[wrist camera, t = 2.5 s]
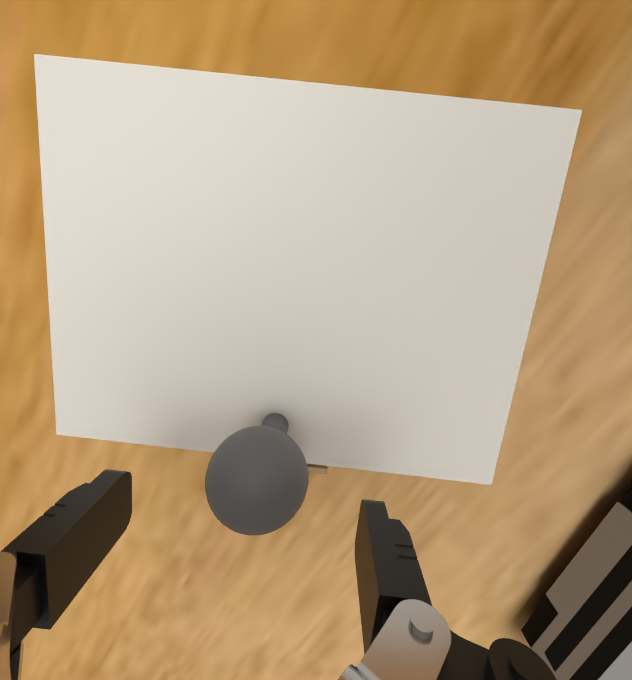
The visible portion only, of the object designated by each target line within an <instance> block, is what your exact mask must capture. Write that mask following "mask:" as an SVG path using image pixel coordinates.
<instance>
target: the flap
mask: <svg viewBox="0 0 632 680" xmlns="http://www.w3.org/2000/svg"><path fill="white" fill-rule="evenodd" d="M34 61H35V78H36V94H37V111H38V128H39V145H40V162H41V179H42V196H43V212H44V229H45V246H46V263H47V280H48V297H49V314H50V330H51V347H52V364H53V381H54V398H55V415H56V432H57V435H66V436H74V437H83V438H92V439H100V440H109V441H118V442H126V443H135V444H143V445H152V446H161V447H169V448H178V449H187V450H195V451H204V452H212V453H214V454H213V455H212V457H211V460H210V462H209V464H208V468H207V472H206V478H205V490H206V496H207V500H208V503H209V506H210V508H211V510H212V512H213V513H214V515H215V516H216V517H217V519H218V520H219V521H220V522H221V523H222V524H223V525H225V526H226V527H228V528H229V529H231V530H233V531H235V532H237V533H240V534H245V535H263V534H267V533H270V532H273V531H275V530H277V529H279V528H281V527H282V526H284V525H285V524H286V523H287V522H289V521H290V520H291V519H292V518H293V517H294V515H295V514H296V513H297V511H298V510H299V508H300V507H301V505H302V503H303V500H304V498H305V495H306V491H307V486H308V472H313V473H321V474H327V466H333V467H342V468H351V469H359V470H368V471H376V472H385V473H394V474H402V475H411V476H420V477H428V478H437V479H445V480H454V481H463V482H471V483H480V484H489V485H492V481H493V476H494V472H495V468H496V464H497V460H498V456H499V452H500V448H501V443H502V439H503V435H504V431H505V427H506V423H507V419H508V414H509V410H510V406H511V402H512V398H513V394H514V390H515V386H516V381H517V377H518V373H519V369H520V365H521V361H522V357H523V353H524V348H525V344H526V340H527V336H528V332H529V328H530V324H531V320H532V315H533V311H534V307H535V303H536V299H537V295H538V291H539V287H540V282H541V278H542V274H543V270H544V266H545V262H546V258H547V253H548V249H549V245H550V241H551V237H552V233H553V229H554V225H555V220H556V216H557V212H558V208H559V204H560V200H561V196H562V192H563V187H564V183H565V179H566V175H567V171H568V167H569V163H570V159H571V154H572V150H573V146H574V142H575V138H576V134H577V130H578V125H579V121H580V117H581V113H582V110H577V109H567V108H557V107H548V106H538V105H528V104H518V103H509V102H499V101H489V100H479V99H469V98H460V97H450V96H440V95H430V94H421V93H411V92H401V91H391V90H381V89H372V88H362V87H352V86H342V85H332V84H323V83H313V82H303V81H293V80H284V79H274V78H264V77H254V76H244V75H235V74H225V73H215V72H205V71H196V70H186V69H176V68H166V67H156V66H147V65H137V64H127V63H117V62H108V61H98V60H88V59H78V58H68V57H59V56H49V55H39V54H34Z"/></svg>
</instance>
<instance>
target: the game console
mask: <svg viewBox="0 0 632 680" xmlns="http://www.w3.org/2000/svg"><path fill="white" fill-rule="evenodd" d="M546 595H547V597H546V599H545V600H544V601H543V602H542V604H541V605H540V606H539V607H538V609H537V610H536V611H535V613H534V614H533V615H532V616H531V618H530V619H529V620H528V622H527V623H526V624H525V625H524V627H523V628H522V629H521V630H522V632H523V634H524V636H525V638H526V640H527V642H528V644H529V645H530V647H531V649H532V650H533V651H534V652H535V653H537V654H538V655H539V656H540V657H541V658H542V659H543V660H544V662H545V663H546V664H547V665H548V667H549V668H550V669H551V671H552V673H553V674H554V676H555V678H556V680H632V488H631V490H630V491H629V492H628V493H627V495H626V496H625V497H624V498H623V500H622V501H621V502H620V503H619V502H617V503H616V504H615V505H614V507H613V508H612V509H611V510H610V512H609V513H608V514H607V516H606V517H605V518H604V519H603V521H602V522H601V523H600V525H599V526H598V527H597V528H596V530H595V531H594V532H593V534H592V535H591V536H590V537H589V539H588V540H587V541H586V543H585V544H584V545H583V546H582V548H581V549H580V550H579V552H578V553H577V554H576V555H575V557H574V558H573V559H572V561H571V562H570V563H569V564H568V566H567V567H566V568H565V570H564V571H563V572H562V573H561V575H560V576H559V577H558V579H557V580H556V581H555V582H554V584H553V585H552V586H551V588H550V589H549V590H548V591H547V593H546Z"/></svg>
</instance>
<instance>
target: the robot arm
mask: <svg viewBox="0 0 632 680" xmlns="http://www.w3.org/2000/svg"><path fill="white" fill-rule="evenodd" d="M131 513H132V476H131V473H130V472H126V471H117V470H109V469H107V470H104V471H103V472H102V473H101V474H100V475H99V476H97V477H96V478H95V479H94V480H93V481H92V482H91V483H84V484H83V485H81V486H79V487H77V488H75V489H73V490H71V491H69V492H68V493H67V494H65V495H64V496H63V497H62V498H61V499H60V500H59V501H57V502H56V503H55V505H54V506H52V507H51V508H50V509H48V510H47V511H46V512H45V513H44V515H43V516H40V517H39V518H38V519H37V520H36V521H35V522H34V523H32V524H31V525H30V526H29V527H28V528H27V529H26V530H25V531H23V532H22V533H21V534H20V535H19V536H18V537H17V538H15V539H14V540H13V541H12V542H11V543H10V544H9V545H7V546H6V547H5V548H4V549H3V550H2V551H1V552H0V680H21V672H22V661H23V649H24V644H23V639H24V637H25V636H26V635H27V634H28V632H29V631H30V630H31V629H32V627H33V628H41V629H51V628H52V626H53V625H54V624H55V623H56V621H57V620H58V619H59V617H60V616H61V615H62V613H63V612H64V611H65V609H66V608H67V607H68V605H69V604H70V603H71V601H72V600H73V599H74V597H75V596H76V595H77V593H78V592H79V591H80V590H81V588H82V587H83V586H84V584H85V583H86V582H87V580H88V579H89V578H90V576H91V575H92V574H93V572H94V571H95V570H96V568H97V567H98V566H99V564H100V563H101V562H102V560H103V559H104V558H105V556H106V555H107V554H108V553H109V551H110V550H111V549H112V547H113V546H114V545H115V543H116V542H117V541H118V539H119V538H120V537H121V535H122V534H123V533H124V531H125V530H126V528H127V526H128V524H129V521H130V518H131ZM355 563H356V573H357V583H358V593H359V603H360V614H361V624H362V634H363V644H364V654H365V655H364V657H363V658H362V660H361V662H360V663H359V664H358V666H357V667H355V666H353V665H349V666H348V667H347V668H346V669H345V670H344V672H343V673H342V675H341V676H340V677H339V679H338V680H556V678H555V676H554V674H553V673H552V671H551V669H550V668H549V667H548V665H547V664H546V663H545V662H544V660H543V659H542V658H541V657H540V656H539V655H538V654H537V653H535V652H534V651H533V650H532V649H530V648H529V647H527V646H526V645H524V644H522V643H520V642H518V641H515V640H512V639H507V638H501V639H497V640H495V641H494V642H493V643H492V644H491V645H490V648H489V650H488V649H486V648H484V647H482V646H479V645H477V644H475V643H472V642H470V641H468V640H466V639H464V638H462V637H460V636H458V635H457V634H455V633H454V632H452V631H451V630H450V629H449V627H448V624H447V622H446V621H445V619H444V618H443V617H442V615H441V614H440V613H439V612H438V611H437V610H436V609H435V608H433V606H432V604H431V601H430V597H429V594H428V591H427V588H426V585H425V581H424V578H423V575H422V572H421V569H420V565H419V562H418V560H417V556H416V552H415V549H414V548H413V543H412V540H411V536H410V533H409V531H408V530H407V529H406V528H405V526H404V525H403V524H402V523H401V521H400V520H396V519H389V518H388V514H387V510H386V506H385V503H384V502H382V501H373V500H364V499H363V500H362V502H361V506H360V513H359V519H358V526H357V532H356V539H355Z"/></svg>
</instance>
